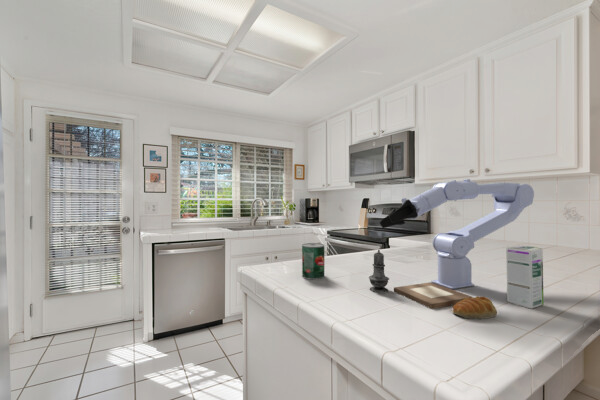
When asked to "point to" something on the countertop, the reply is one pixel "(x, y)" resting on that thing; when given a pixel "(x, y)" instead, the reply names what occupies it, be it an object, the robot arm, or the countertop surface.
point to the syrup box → (525, 276)
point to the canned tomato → (313, 261)
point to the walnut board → (431, 294)
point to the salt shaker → (378, 274)
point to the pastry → (475, 308)
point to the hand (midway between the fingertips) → (385, 222)
